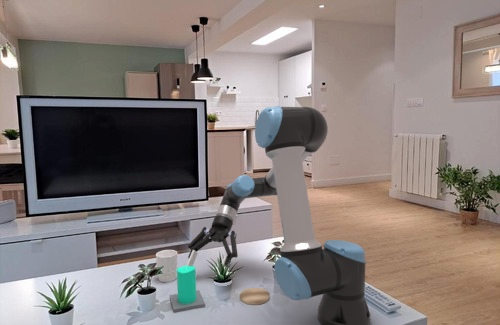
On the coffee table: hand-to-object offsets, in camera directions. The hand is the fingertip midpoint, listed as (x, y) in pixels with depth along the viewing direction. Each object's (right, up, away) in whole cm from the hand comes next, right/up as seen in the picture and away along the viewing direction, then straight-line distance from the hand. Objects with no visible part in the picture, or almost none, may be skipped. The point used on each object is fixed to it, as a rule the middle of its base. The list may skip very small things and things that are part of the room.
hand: (204, 271), depth 125 cm
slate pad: (-5, -8, -9) cm, 12 cm away
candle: (-4, -7, -9) cm, 12 cm away
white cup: (-15, -6, +10) cm, 19 cm away
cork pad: (+18, -7, -6) cm, 20 cm away
